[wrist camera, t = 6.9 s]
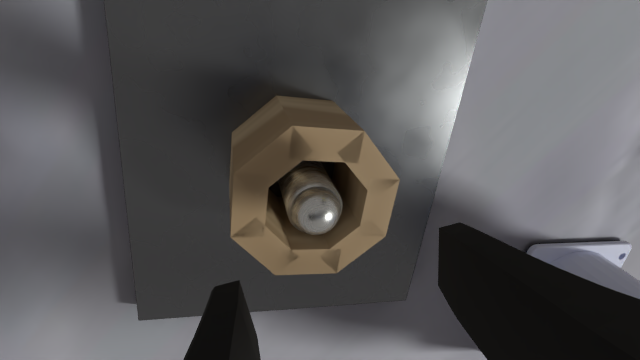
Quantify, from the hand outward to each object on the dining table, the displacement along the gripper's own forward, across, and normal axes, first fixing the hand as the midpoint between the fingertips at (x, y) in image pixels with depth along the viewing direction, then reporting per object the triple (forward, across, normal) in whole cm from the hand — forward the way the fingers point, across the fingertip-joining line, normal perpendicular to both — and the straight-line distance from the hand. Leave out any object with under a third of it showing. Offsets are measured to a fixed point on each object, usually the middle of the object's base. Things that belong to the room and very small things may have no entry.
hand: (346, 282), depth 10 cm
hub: (+8, 0, 0) cm, 8 cm away
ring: (+7, 0, 0) cm, 7 cm away
